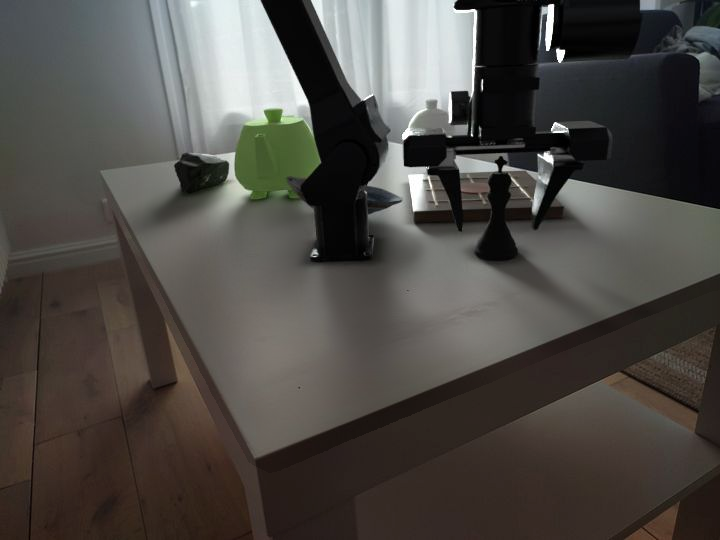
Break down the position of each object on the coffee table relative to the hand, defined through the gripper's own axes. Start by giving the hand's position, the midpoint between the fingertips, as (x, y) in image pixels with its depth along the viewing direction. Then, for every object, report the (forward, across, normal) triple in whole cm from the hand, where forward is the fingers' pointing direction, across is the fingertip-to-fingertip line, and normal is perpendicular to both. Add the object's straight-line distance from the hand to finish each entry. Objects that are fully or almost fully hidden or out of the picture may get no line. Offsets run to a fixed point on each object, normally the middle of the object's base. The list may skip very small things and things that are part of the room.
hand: (496, 229), depth 54 cm
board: (+2, -1, -21) cm, 21 cm away
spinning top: (+3, +4, -38) cm, 38 cm away
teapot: (+3, +28, -29) cm, 40 cm away
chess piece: (+3, 0, 0) cm, 3 cm away
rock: (+3, +42, -35) cm, 55 cm away
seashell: (+3, +17, -14) cm, 22 cm away
